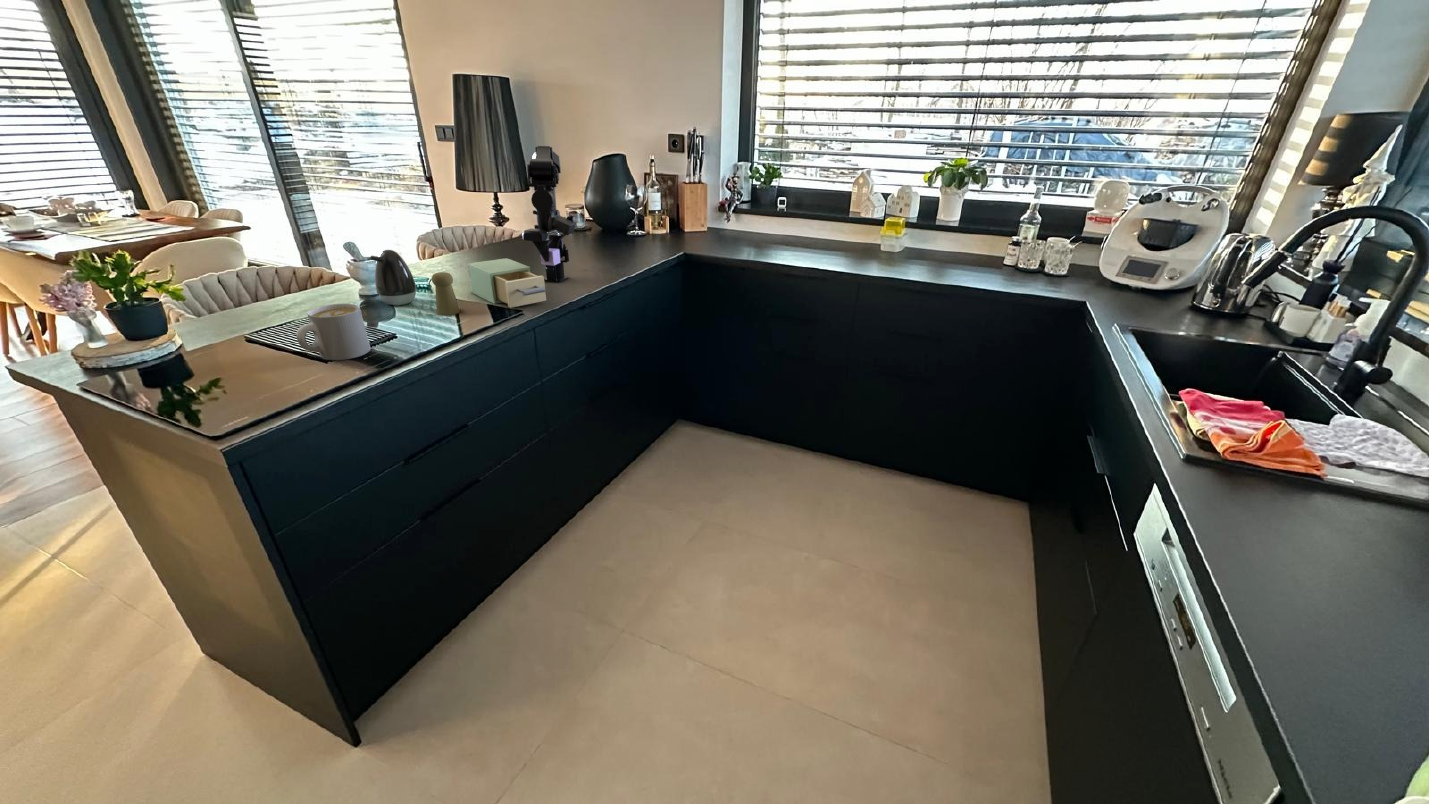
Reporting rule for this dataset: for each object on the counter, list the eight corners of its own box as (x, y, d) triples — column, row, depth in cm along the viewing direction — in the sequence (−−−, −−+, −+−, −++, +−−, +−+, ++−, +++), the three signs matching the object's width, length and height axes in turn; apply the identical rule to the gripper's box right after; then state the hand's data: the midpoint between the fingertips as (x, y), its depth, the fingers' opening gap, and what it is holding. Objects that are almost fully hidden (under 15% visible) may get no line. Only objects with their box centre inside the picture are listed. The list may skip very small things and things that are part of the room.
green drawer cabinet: (533, 296, 171) (530, 266, 167) (494, 304, 163) (489, 273, 159) (510, 286, 180) (506, 258, 176) (472, 292, 172) (467, 263, 168)
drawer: (554, 304, 162) (552, 279, 159) (518, 311, 155) (515, 286, 152) (523, 290, 174) (520, 267, 170) (488, 297, 166) (484, 272, 163)
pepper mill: (454, 307, 159) (448, 269, 154) (463, 312, 155) (456, 273, 150) (433, 311, 155) (425, 272, 150) (441, 316, 152) (433, 276, 147)
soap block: (548, 261, 173) (546, 247, 171) (560, 262, 172) (559, 248, 170) (541, 264, 169) (539, 250, 167) (553, 265, 168) (552, 251, 166)
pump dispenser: (371, 304, 159) (357, 250, 152) (404, 295, 167) (392, 244, 160) (394, 310, 155) (381, 255, 148) (427, 301, 163) (416, 249, 156)
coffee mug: (361, 340, 134) (350, 300, 129) (377, 352, 128) (366, 310, 124) (296, 355, 125) (282, 312, 120) (310, 368, 119) (296, 324, 115)
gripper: (554, 212, 153) (559, 269, 160) (584, 204, 169) (588, 256, 176) (518, 209, 156) (524, 265, 163) (551, 202, 172) (556, 253, 179)
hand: (550, 260), depth 170 cm, fingers closed on soap block, 4 cm apart
